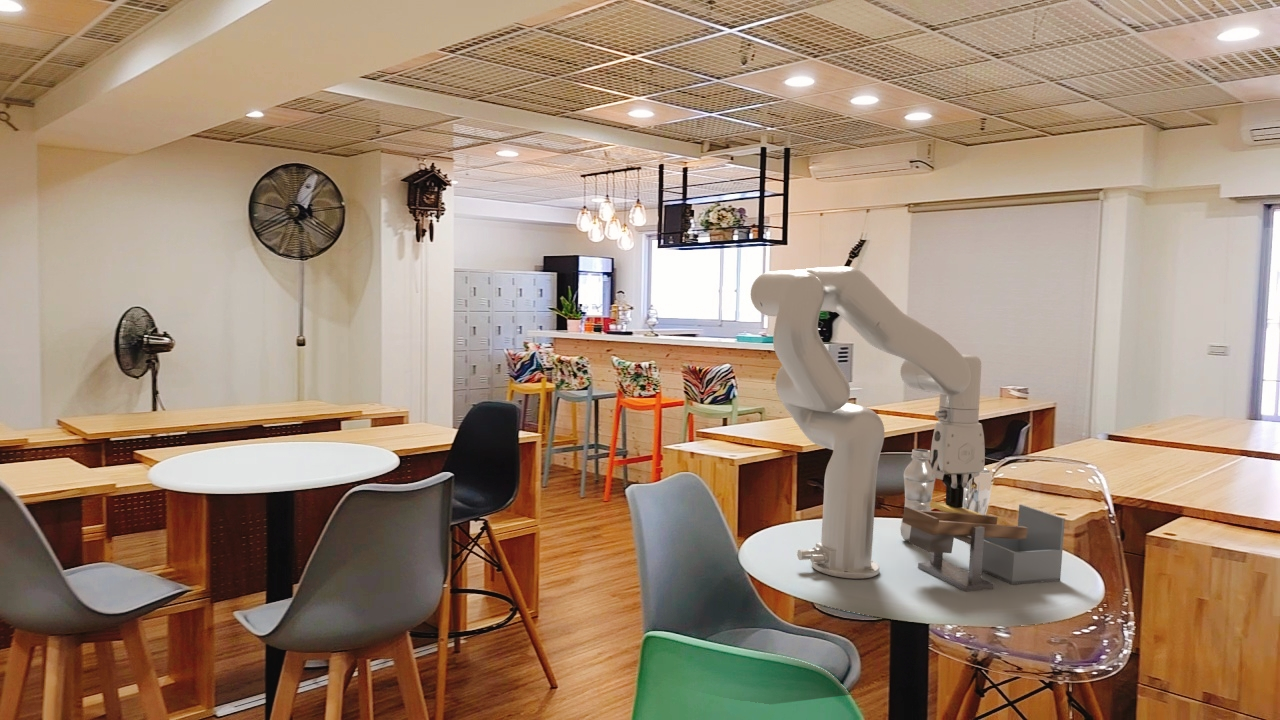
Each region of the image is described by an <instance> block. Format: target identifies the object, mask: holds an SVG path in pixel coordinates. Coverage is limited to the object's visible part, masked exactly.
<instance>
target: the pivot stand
mask: <svg viewBox="0 0 1280 720" xmlns="http://www.w3.org/2000/svg"><path fill="white" fill-rule="evenodd" d="M984 530H985V528H984V527H982V526H977V527H972V532H971V545H970V547H969V548H970V549H969V561H968V563H969V564H968V571H967V570H965V569H963V568H960V567H958V566H957V565H954V564H952V563H950V562H947V561H945V560H943V559H944V555H943V554H944V553H938V552H930V561H922V562H918V563H917V568H918V569H920V570H922V571H924V572H925V573H928V574H930V575H932V576H933V577H936V578H938V579H940V580H942V581H944V582H946V583H947V584H950V585H952V586H954V587H955V588H958V589H960V590H962V591H964V592H974V591H976V592H977V591H987V590H993V589H994V586H995V585H994V583H993V582H991V581H988V580H987V579H984V578H982V572H983V571H982V559H983V545H984Z"/></svg>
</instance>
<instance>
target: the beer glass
mask: <svg viewBox="0 0 1280 720" xmlns="http://www.w3.org/2000/svg"><path fill="white" fill-rule="evenodd" d="M991 493H992V471H991V470H989V469H987V468H984V470H983V471H981V472H980V474H979V476H977V477H974V478H971V479H970V480H969V482H968V483H967V486H966V488H964V494H963V508H966V509H968V510H971V511H974V512H977V513H979V514H982V515H987V511H988V508H989V504H990V500H991V495H992V494H991ZM968 537H970V538H971V536H968Z"/></svg>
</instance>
